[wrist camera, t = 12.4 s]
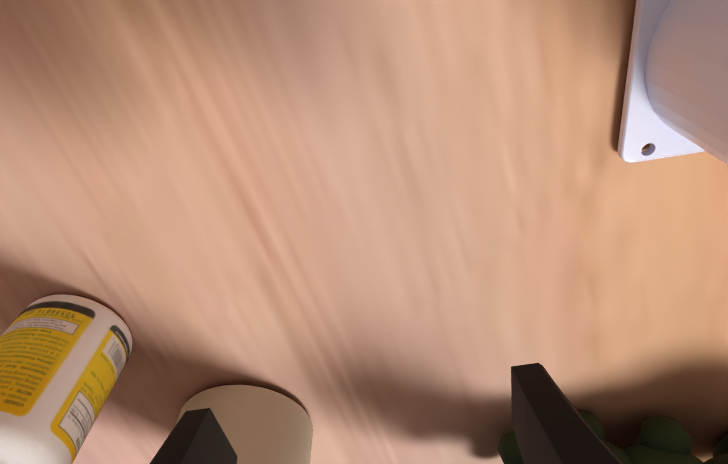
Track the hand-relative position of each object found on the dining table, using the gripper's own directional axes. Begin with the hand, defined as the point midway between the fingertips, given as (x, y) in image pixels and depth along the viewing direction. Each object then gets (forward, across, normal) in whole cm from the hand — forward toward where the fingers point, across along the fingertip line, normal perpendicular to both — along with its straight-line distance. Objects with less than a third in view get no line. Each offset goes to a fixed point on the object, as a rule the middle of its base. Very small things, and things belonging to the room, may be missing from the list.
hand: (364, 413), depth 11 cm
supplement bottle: (+11, +16, +5) cm, 20 cm away
